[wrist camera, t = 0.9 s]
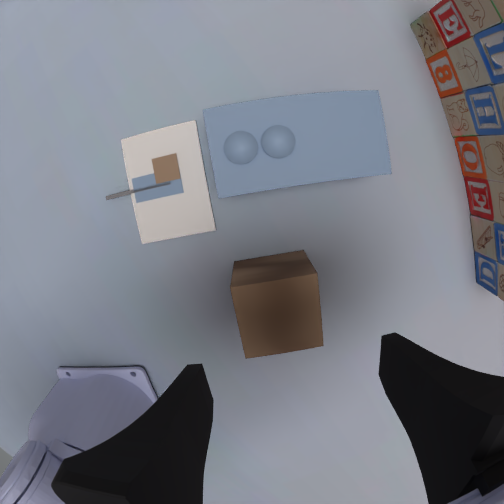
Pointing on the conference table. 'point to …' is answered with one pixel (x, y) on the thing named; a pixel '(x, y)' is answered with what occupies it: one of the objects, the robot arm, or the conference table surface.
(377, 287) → the conference table surface
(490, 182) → the stack of blocks
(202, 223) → the page
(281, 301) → the walnut brick
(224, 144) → the base brick
